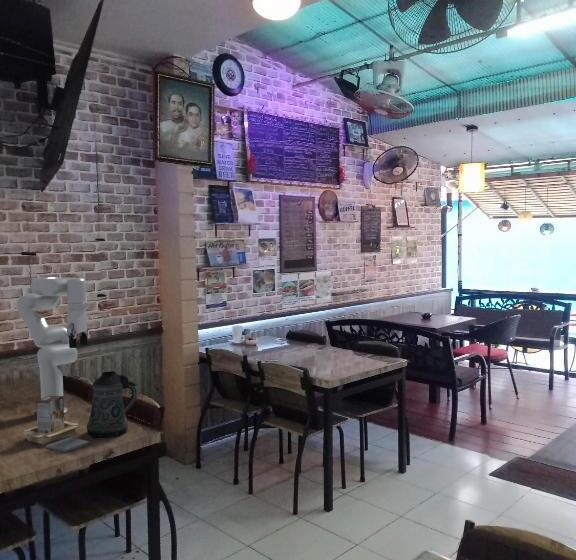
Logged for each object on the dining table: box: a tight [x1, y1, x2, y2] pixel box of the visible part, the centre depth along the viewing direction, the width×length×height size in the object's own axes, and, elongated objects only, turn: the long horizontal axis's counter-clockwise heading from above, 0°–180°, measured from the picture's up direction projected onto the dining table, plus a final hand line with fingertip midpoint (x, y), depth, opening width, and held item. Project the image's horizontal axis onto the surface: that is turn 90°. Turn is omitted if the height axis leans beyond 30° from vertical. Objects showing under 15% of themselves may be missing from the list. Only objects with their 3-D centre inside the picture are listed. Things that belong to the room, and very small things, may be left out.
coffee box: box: [36, 395, 65, 434], centre depth 226 cm, size 9×6×16 cm
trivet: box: [45, 436, 90, 453], centre depth 216 cm, size 11×11×1 cm
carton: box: [22, 420, 80, 446], centre depth 226 cm, size 16×19×4 cm
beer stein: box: [86, 371, 138, 439], centre depth 232 cm, size 16×19×25 cm
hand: (78, 346), depth 242 cm, fingers open, 9 cm apart
